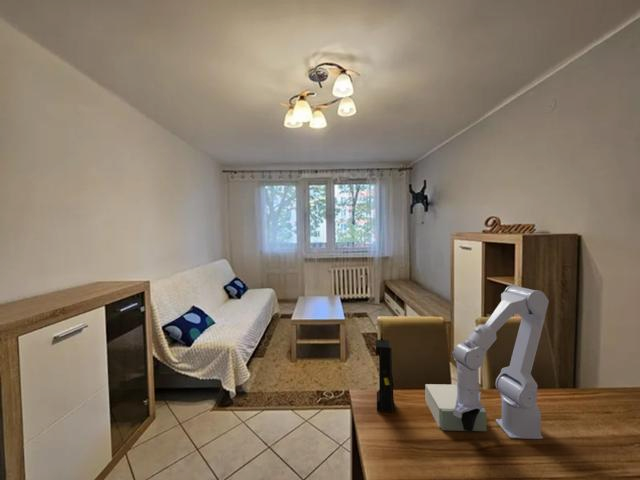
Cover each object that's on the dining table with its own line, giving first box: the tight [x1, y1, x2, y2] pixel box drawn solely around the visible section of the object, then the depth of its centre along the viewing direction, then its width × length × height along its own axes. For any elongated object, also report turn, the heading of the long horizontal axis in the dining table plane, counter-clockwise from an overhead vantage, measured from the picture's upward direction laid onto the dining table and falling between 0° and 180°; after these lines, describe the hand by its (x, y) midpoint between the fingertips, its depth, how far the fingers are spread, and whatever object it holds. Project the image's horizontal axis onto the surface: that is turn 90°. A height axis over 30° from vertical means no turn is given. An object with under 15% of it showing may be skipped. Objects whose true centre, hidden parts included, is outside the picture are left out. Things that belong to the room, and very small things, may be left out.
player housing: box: [424, 383, 486, 429], centre depth 95 cm, size 14×14×6 cm
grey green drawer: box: [440, 409, 487, 432], centre depth 93 cm, size 13×13×6 cm
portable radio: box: [375, 332, 395, 413], centre depth 99 cm, size 8×6×25 cm
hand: (468, 430), depth 84 cm, fingers closed
